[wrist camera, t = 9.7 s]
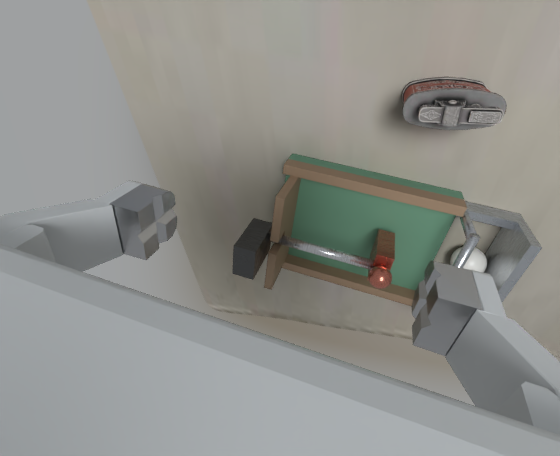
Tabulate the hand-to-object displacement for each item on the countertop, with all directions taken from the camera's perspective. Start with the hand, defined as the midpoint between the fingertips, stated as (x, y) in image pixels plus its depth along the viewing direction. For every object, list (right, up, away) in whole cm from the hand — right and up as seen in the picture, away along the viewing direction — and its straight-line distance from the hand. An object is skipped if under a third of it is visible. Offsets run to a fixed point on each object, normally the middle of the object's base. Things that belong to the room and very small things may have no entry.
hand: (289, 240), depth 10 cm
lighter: (+17, +15, +24) cm, 33 cm away
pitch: (+10, +1, +35) cm, 36 cm away
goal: (+24, -3, +32) cm, 40 cm away
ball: (+23, -4, +31) cm, 39 cm away
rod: (+6, 0, +33) cm, 34 cm away
